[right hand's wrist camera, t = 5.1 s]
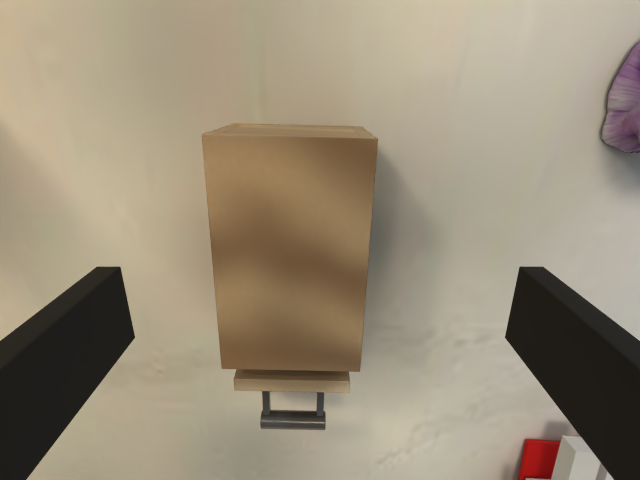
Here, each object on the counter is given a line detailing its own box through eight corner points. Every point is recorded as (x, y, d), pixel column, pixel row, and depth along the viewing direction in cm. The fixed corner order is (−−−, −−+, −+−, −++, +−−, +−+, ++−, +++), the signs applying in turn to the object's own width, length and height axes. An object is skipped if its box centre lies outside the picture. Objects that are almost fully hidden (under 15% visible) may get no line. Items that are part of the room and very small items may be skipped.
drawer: (341, 388, 39) (345, 445, 33) (251, 387, 39) (238, 442, 33) (353, 180, 32) (361, 202, 25) (240, 177, 31) (220, 198, 25)
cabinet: (351, 311, 37) (359, 371, 29) (243, 308, 37) (221, 368, 29) (363, 126, 31) (377, 138, 23) (232, 123, 31) (201, 133, 23)
